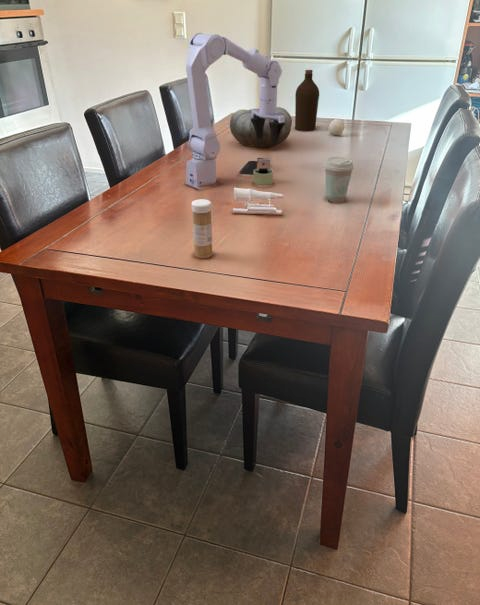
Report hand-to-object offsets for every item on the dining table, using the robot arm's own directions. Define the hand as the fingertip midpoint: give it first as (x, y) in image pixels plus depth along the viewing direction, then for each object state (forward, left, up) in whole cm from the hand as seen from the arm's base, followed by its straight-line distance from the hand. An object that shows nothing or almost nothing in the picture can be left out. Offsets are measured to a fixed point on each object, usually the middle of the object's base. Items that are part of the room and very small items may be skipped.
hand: (266, 140), depth 177 cm
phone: (-4, +2, -10) cm, 11 cm away
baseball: (+58, +16, -7) cm, 61 cm away
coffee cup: (-5, -36, -10) cm, 38 cm away
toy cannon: (-30, -28, -10) cm, 43 cm away
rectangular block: (-12, -11, -9) cm, 19 cm away
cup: (-12, -11, -10) cm, 19 cm away
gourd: (+22, +27, -10) cm, 36 cm away
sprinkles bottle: (-59, -40, -10) cm, 72 cm away
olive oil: (+57, +34, -10) cm, 67 cm away
